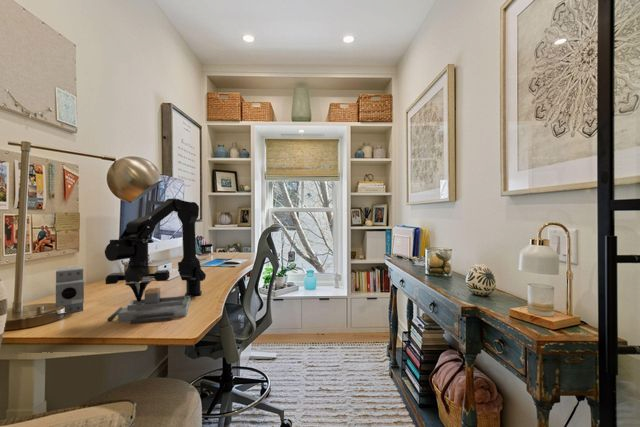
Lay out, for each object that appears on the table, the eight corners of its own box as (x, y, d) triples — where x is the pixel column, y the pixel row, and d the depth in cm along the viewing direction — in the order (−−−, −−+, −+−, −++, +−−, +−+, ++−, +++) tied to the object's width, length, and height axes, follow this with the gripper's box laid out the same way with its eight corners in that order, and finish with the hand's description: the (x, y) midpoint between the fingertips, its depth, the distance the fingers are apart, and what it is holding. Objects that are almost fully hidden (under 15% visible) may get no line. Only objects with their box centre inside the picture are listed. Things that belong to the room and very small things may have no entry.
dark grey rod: (119, 310, 112) (119, 307, 112) (123, 310, 112) (123, 307, 112) (107, 321, 101) (107, 317, 101) (111, 321, 101) (111, 317, 101)
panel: (132, 308, 115) (132, 297, 115) (190, 303, 121) (190, 292, 121) (118, 322, 100) (118, 309, 100) (186, 315, 106) (185, 304, 106)
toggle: (147, 301, 112) (147, 288, 112) (160, 300, 113) (160, 287, 113) (144, 305, 107) (144, 291, 107) (157, 304, 108) (157, 290, 108)
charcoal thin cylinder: (129, 324, 98) (129, 320, 98) (130, 323, 99) (130, 319, 99) (171, 320, 102) (171, 316, 102) (172, 319, 103) (172, 315, 103)
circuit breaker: (55, 319, 103) (55, 274, 103) (56, 309, 114) (56, 268, 114) (84, 314, 108) (84, 271, 108) (82, 305, 119) (82, 266, 119)
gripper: (98, 261, 98) (99, 311, 98) (164, 258, 104) (164, 305, 104) (111, 256, 109) (111, 301, 109) (169, 254, 114) (169, 296, 115)
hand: (139, 301), depth 109 cm, fingers closed
